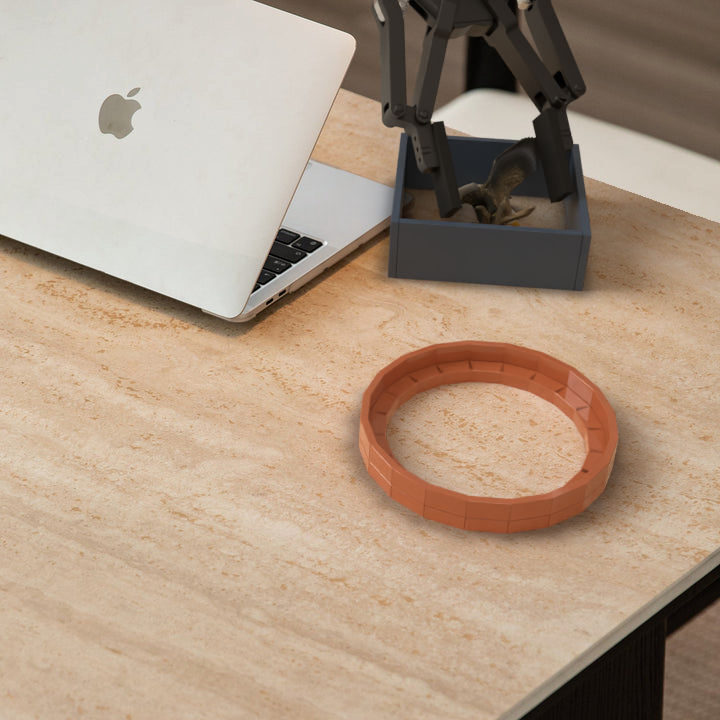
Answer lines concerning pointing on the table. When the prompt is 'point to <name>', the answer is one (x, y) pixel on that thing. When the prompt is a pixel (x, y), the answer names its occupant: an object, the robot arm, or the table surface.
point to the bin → (488, 228)
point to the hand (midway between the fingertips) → (507, 205)
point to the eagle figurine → (503, 184)
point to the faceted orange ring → (500, 368)
